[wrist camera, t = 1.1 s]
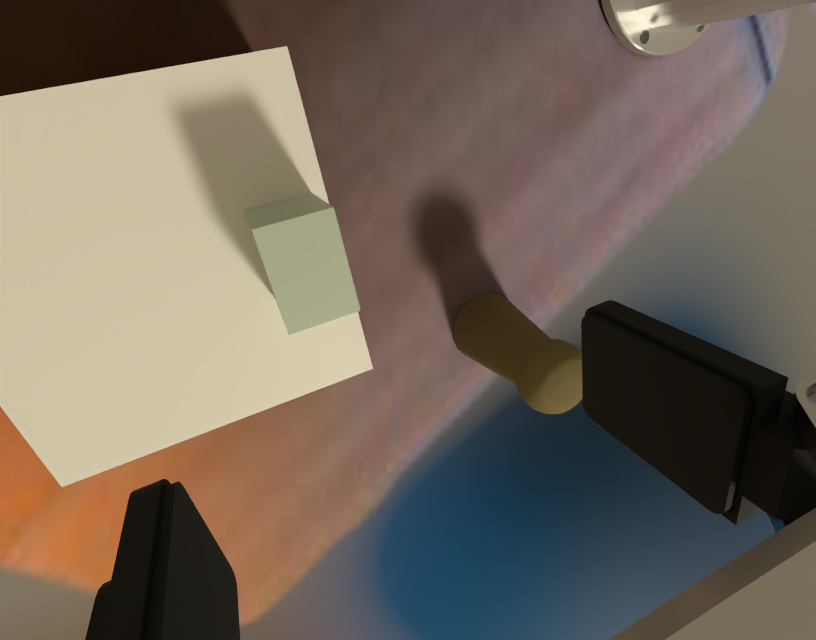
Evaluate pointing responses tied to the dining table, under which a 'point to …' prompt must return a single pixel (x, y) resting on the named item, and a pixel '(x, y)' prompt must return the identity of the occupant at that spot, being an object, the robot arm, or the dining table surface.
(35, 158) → the lid
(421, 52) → the dining table surface
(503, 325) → the cork
